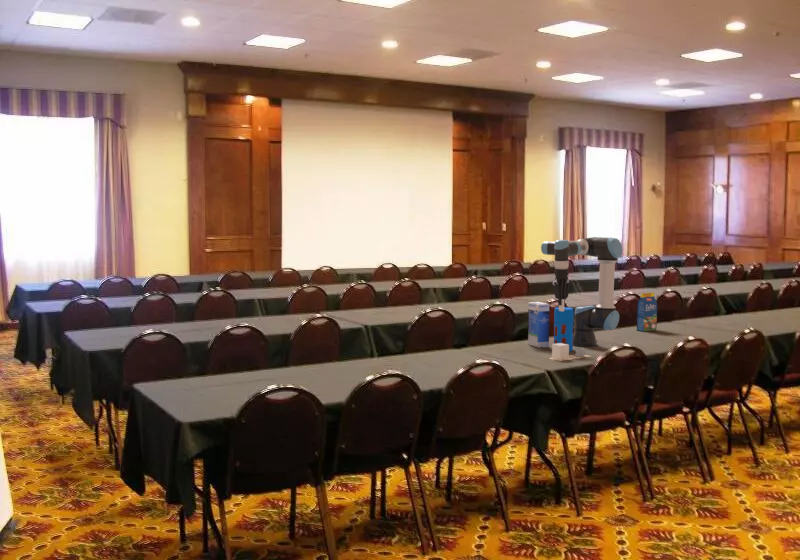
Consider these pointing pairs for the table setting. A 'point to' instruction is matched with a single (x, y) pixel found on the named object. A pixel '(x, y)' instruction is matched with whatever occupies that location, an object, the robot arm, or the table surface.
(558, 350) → the white tilted cube
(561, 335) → the thermos
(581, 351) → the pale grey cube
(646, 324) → the blue food package
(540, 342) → the string lights box
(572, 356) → the board
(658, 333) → the table surface
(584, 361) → the table surface
